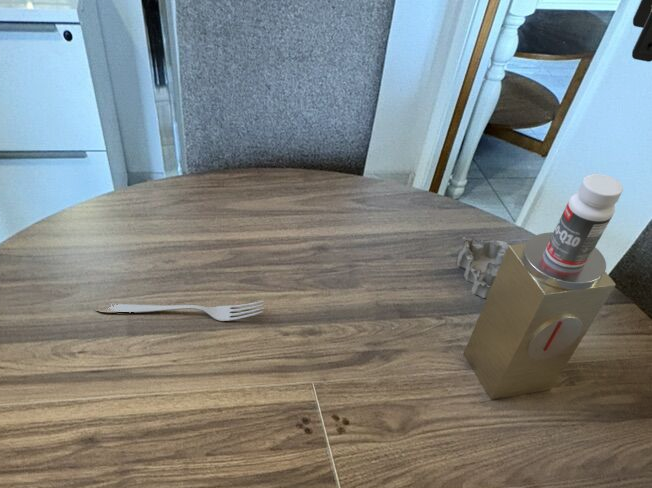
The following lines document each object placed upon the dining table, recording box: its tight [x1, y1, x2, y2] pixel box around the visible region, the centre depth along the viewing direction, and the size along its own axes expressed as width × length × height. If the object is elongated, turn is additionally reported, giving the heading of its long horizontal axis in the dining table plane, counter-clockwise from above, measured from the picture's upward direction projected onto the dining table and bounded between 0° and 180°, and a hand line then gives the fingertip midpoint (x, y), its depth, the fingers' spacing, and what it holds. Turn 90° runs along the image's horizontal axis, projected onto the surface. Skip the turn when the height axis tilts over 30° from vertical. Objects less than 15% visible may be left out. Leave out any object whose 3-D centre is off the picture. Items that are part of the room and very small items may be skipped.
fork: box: [108, 300, 265, 322], centre depth 87 cm, size 3×24×2 cm, turn 90°
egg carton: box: [456, 235, 510, 299], centre depth 94 cm, size 11×8×4 cm
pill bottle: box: [546, 173, 624, 268], centre depth 66 cm, size 5×5×8 cm
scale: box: [463, 231, 617, 401], centre depth 77 cm, size 9×10×18 cm
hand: (641, 42), depth 63 cm, fingers open, 8 cm apart
